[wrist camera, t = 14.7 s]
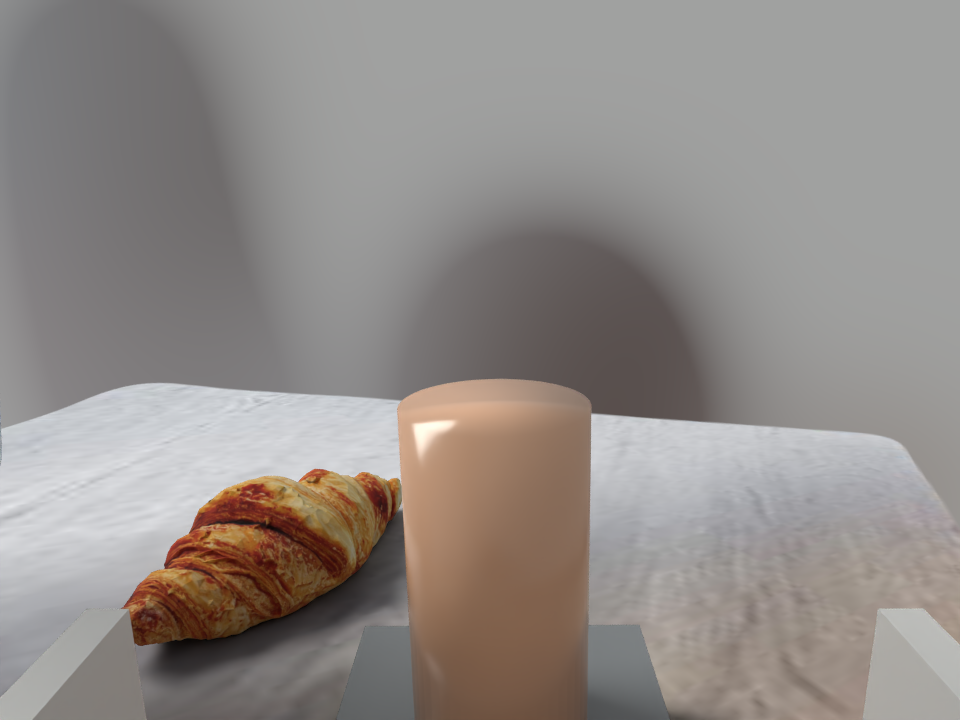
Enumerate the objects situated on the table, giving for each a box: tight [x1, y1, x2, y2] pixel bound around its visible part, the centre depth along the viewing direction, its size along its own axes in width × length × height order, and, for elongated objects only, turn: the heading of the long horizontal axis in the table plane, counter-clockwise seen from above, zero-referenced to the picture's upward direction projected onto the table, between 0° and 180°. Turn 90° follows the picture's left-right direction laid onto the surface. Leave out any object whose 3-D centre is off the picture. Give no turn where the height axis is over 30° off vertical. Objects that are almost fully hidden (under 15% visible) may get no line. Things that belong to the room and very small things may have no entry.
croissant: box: [121, 469, 402, 646], centre depth 42 cm, size 21×10×8 cm, turn 148°
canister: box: [397, 379, 591, 720], centre depth 23 cm, size 6×6×12 cm
